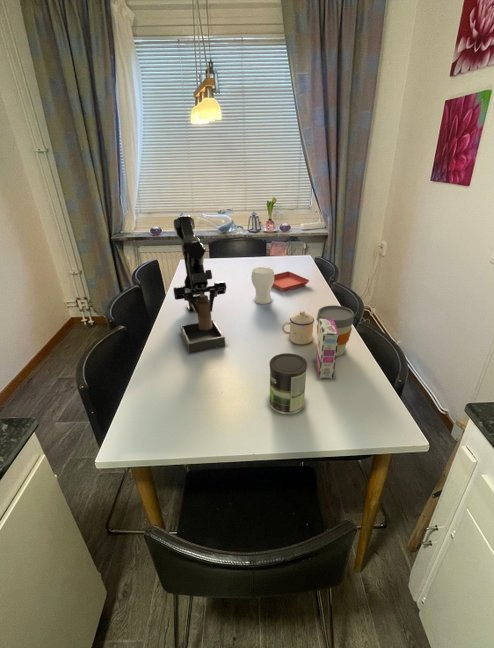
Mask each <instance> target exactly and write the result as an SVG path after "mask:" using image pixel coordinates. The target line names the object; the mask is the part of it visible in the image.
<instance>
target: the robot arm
mask: <svg viewBox="0 0 494 648" xmlns="http://www.w3.org/2000/svg"><path fill="white" fill-rule="evenodd" d="M173 228H174V231H175V232H176V236H177V237H178V239H179V240H180V242H181V245H180V246H181V254H182V256H183V260H184V265H185V266H184V267H185V273H186V276H185V279H184V282H183V283H184V285H177V286H174V287H173V296H174V300H175V301H178V300H184V301H187V303H188V305H187V306H186V307H187V309H188V311H189V313H193V312H195V314H196V315H197V308H196V301H197V296H199V295H200V294H201V293H203V294H204V295H206V293H208V294H209V295H208V299H209V300H210V309H211V313H212V312H213V307H214V302H215V301H214V300H215V298H217V297H218V296H219V295H224V294H226V291H227V283H226V282H225V281H224V280H222V281H215V282H214V284H213V285H210V286H208V285H209V282H208V280H212V279H213V274H212V269H206V270H205V267H204V262H205V253H206V252H207V250H206V247H205V246H204V245H203V243H201V241H200V238H199V237H197V236H196V235H195V232H194V230H195V229H196V225H195V219H194V218H193V217H192V216H191V215H180V216H177V218H175V219H173Z"/></svg>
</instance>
